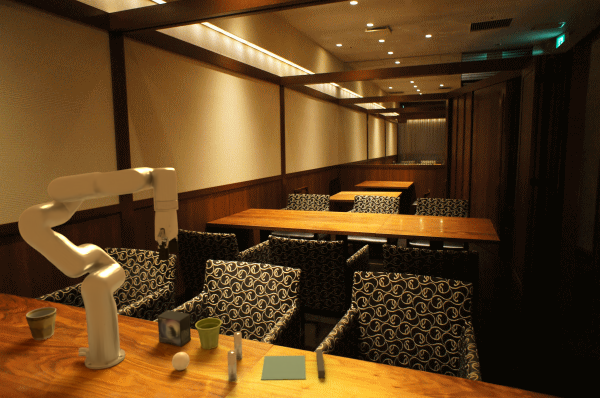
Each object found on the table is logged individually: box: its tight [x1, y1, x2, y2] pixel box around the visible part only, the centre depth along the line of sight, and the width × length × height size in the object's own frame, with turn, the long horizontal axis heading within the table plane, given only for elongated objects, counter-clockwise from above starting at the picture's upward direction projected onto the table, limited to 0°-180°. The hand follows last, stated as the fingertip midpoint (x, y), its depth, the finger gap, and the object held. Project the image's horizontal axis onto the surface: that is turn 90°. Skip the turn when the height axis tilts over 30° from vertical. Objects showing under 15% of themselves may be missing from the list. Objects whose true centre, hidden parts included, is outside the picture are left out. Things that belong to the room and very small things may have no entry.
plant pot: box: [194, 317, 223, 350], centre depth 146 cm, size 9×9×9 cm
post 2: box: [233, 331, 243, 361], centre depth 137 cm, size 3×3×9 cm
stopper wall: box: [315, 349, 326, 379], centre depth 131 cm, size 2×13×2 cm, turn 1°
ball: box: [171, 351, 191, 371], centre depth 131 cm, size 6×6×6 cm
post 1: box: [227, 349, 238, 383], centre depth 124 cm, size 3×3×9 cm
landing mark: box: [260, 355, 307, 381], centre depth 131 cm, size 14×14×1 cm
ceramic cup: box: [25, 306, 57, 341], centre depth 155 cm, size 13×10×10 cm
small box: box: [157, 309, 192, 348], centre depth 150 cm, size 11×6×10 cm, turn 68°
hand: (169, 255), depth 133 cm, fingers open, 9 cm apart
